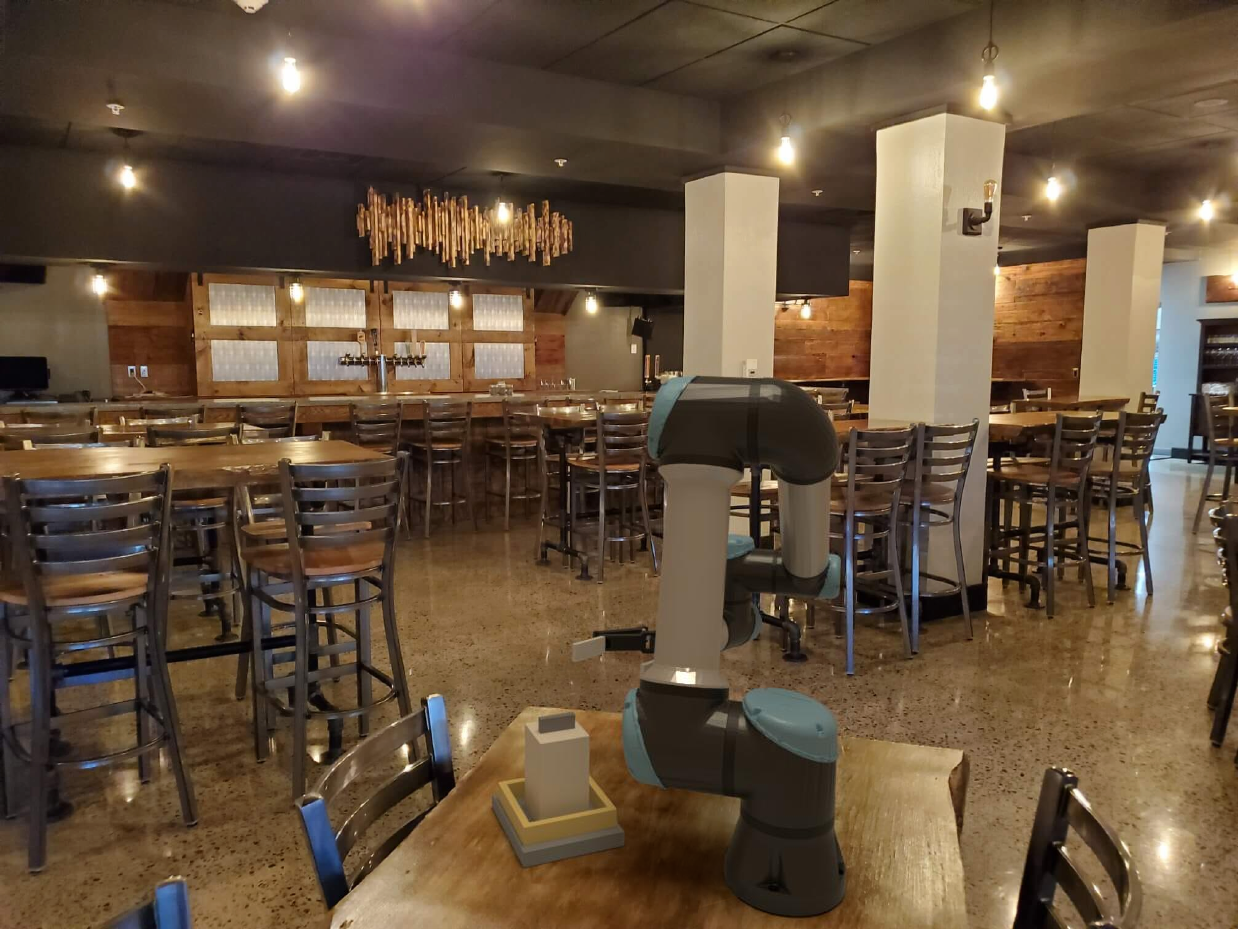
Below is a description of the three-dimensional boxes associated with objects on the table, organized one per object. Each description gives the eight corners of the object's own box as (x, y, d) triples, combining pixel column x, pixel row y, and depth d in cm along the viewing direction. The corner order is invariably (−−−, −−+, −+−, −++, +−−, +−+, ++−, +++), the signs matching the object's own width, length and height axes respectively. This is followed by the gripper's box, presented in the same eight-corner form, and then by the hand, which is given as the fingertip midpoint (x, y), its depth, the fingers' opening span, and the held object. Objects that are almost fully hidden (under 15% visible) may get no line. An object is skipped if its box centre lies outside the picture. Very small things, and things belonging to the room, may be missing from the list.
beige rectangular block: (588, 819, 117) (589, 721, 115) (539, 829, 114) (540, 729, 112) (571, 795, 123) (572, 702, 121) (524, 804, 120) (525, 709, 119)
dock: (624, 845, 114) (624, 814, 113) (523, 867, 108) (523, 834, 108) (582, 790, 129) (583, 762, 128) (492, 807, 123) (492, 778, 123)
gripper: (758, 676, 132) (672, 710, 116) (636, 642, 148) (547, 668, 133) (760, 628, 131) (674, 657, 115) (637, 600, 148) (548, 621, 132)
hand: (606, 663), depth 124 cm, fingers open, 13 cm apart
